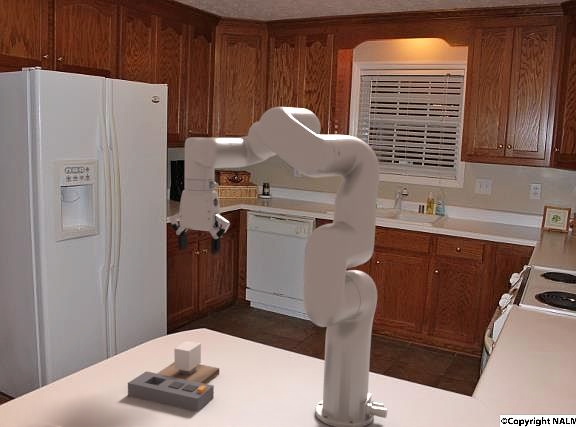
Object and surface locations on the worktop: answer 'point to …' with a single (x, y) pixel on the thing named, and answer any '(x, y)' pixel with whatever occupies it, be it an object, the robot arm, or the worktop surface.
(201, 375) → the pad
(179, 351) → the block
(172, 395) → the power strip
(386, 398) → the worktop surface
